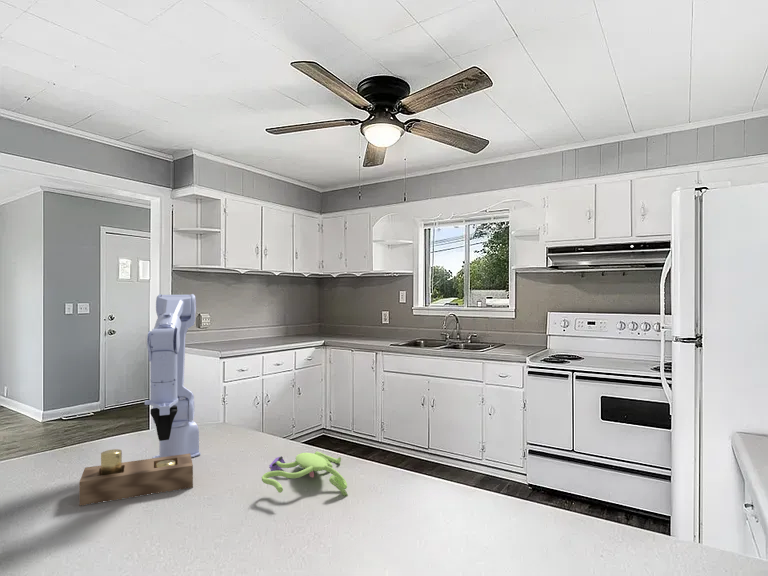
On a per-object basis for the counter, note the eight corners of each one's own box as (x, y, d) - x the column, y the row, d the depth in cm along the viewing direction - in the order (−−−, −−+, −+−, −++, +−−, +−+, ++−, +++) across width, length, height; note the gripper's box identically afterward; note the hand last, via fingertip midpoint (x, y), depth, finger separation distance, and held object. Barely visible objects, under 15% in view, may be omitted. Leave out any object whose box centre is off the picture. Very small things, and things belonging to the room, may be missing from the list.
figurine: (259, 509, 100) (259, 482, 100) (268, 463, 127) (268, 442, 127) (349, 503, 103) (349, 477, 103) (340, 459, 130) (340, 438, 130)
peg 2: (175, 480, 115) (175, 458, 115) (175, 486, 112) (175, 464, 112) (156, 482, 114) (156, 461, 114) (156, 489, 110) (156, 467, 110)
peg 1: (122, 470, 111) (122, 448, 111) (121, 476, 107) (121, 453, 107) (101, 473, 109) (101, 450, 109) (100, 479, 105) (100, 456, 105)
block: (190, 473, 119) (190, 453, 119) (192, 487, 111) (192, 465, 111) (85, 489, 110) (85, 467, 110) (79, 505, 102) (79, 481, 102)
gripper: (144, 376, 117) (145, 433, 117) (144, 387, 104) (144, 451, 104) (176, 374, 120) (176, 429, 120) (179, 384, 107) (179, 446, 107)
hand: (164, 439), depth 113 cm, fingers closed
